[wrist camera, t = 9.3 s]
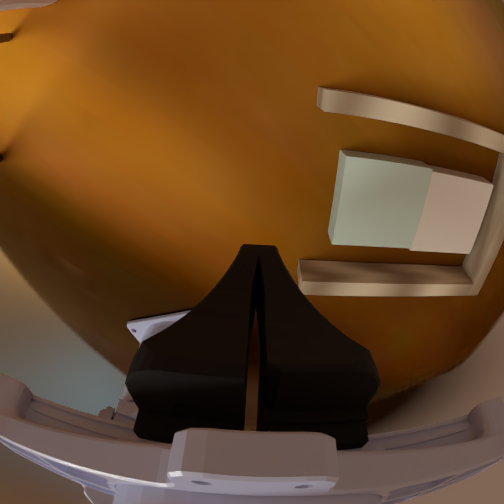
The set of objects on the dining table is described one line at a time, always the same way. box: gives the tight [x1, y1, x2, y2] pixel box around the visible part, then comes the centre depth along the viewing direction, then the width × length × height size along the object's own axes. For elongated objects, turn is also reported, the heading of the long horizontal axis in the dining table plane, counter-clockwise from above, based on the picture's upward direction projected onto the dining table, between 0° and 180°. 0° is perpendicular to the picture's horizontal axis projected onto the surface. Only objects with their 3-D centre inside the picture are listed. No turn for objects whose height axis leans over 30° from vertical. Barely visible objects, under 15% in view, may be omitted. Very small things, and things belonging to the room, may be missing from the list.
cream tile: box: [409, 165, 494, 254], centre depth 19 cm, size 6×6×2 cm
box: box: [297, 87, 504, 296], centre depth 18 cm, size 16×13×2 cm
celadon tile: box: [328, 149, 433, 248], centre depth 19 cm, size 6×6×2 cm
